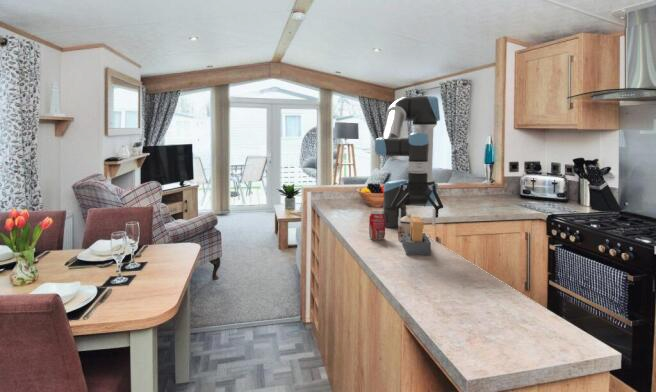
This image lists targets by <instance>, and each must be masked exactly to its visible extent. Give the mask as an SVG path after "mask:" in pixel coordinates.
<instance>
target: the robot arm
mask: <svg viewBox="0 0 656 392" xmlns="http://www.w3.org/2000/svg"><path fill="white" fill-rule="evenodd" d="M385 113H386V114H385V116H386V122H385V125H384V130H383V133H382V136H381V137H378V138H376V139H375V141H374V152H375V155H376V156H381V157H390V156H391V157H408V166H407V167H408V168H407V170H408V173H407V179H395V180H394V179H393V180H390V181H386V182H385V183H384V185H383V211H382V212H384V215H385V228H391V229H392V228H393V229H394V228H395V229H398V225H399V226H401V218H403V217H404V216H406V214H408V212H407V207H410V206H411V207H412V206H416V207H424V208H425V207H433V209H432V216H431V217H432V219H431V221H432V222H431V223H432V224H431V225H432V227H436V219H438V218H439V210H440V209H443V208H444V204H443V203H442V201H441V199H440V196H439V195H438V186H439V185H438V183H437V182H436V179H435V178H434V177H433V156H434V155H433V154H434V128H435V127H436V126H437V124H438V122H440V120H441V116H440V106H439V99H438V97H437V96H435V95H434V96H432V95H427V96H426V95H423V96H419V95H418V96H417V95H416V96H402V97H401V98H398V99H396V100H395V101H393V102H392V103H391V104H390V105H389V106H388V108H387V110H386V112H385ZM404 122H412V126H413V127H414V128H415V130H414V131H415V132H411V133H410V134H409V137H401V134H402V129H403V124H404ZM436 202H437V204H438V205H437V204H436Z"/></svg>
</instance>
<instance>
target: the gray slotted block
mask: <svg viewBox="0 0 656 392" xmlns="http://www.w3.org/2000/svg"><path fill="white" fill-rule="evenodd" d="M401 243H402V247H403V250H404V253H405V255H406V256H425V257H426V256H429V257H430V256H431V255H432V254H431V250H432V249H431V248H432V242H431V241H430V239H429V238H428V235H426V233H423V236H422V241H412V237H410V233H403V240H402V241H401Z"/></svg>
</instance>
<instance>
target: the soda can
mask: <svg viewBox="0 0 656 392" xmlns="http://www.w3.org/2000/svg"><path fill="white" fill-rule="evenodd" d="M368 221H369V222H368V235H369V237H368V238H369V239H371V240H372V241H382V240H384V239H385V236H386V227H385V215H384V212H383V211H371V212H370V214H369V218H368Z"/></svg>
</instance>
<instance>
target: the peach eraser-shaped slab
mask: <svg viewBox="0 0 656 392" xmlns="http://www.w3.org/2000/svg"><path fill="white" fill-rule="evenodd" d="M424 223H425V222H424V221H423V219H422V218H421V217H420V216H412V217H410V237H412V241H422V236H423V229H424V227H425V226H424Z"/></svg>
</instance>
